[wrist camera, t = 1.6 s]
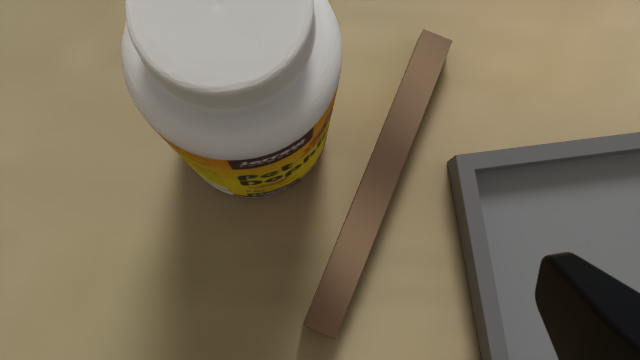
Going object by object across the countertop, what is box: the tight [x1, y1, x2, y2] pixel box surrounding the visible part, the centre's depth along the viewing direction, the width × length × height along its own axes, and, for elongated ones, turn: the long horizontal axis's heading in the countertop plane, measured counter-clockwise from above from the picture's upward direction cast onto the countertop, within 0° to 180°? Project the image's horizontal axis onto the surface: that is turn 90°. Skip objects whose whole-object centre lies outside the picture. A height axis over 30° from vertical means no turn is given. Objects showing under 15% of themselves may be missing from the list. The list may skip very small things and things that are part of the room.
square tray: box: [447, 132, 640, 360], centre depth 20 cm, size 10×10×1 cm
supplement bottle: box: [121, 0, 342, 198], centre depth 17 cm, size 6×6×10 cm
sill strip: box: [303, 29, 452, 339], centre depth 21 cm, size 12×1×1 cm, turn 158°
